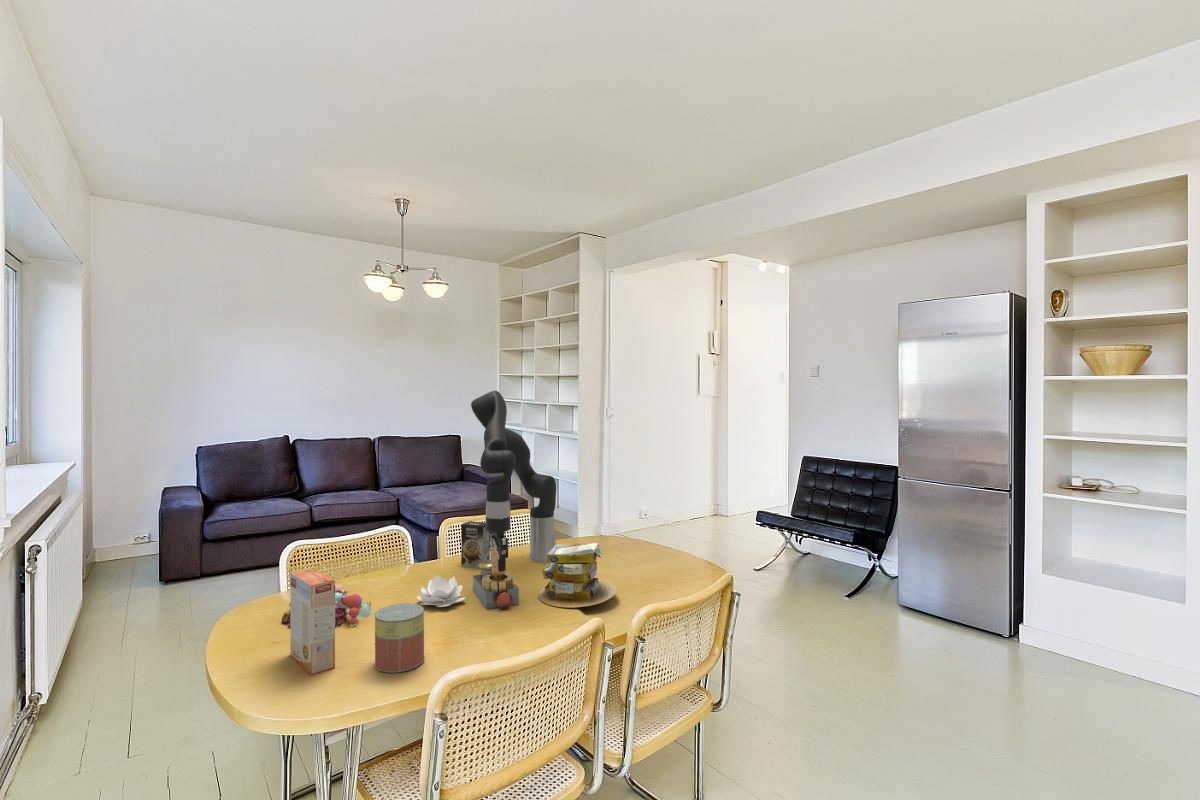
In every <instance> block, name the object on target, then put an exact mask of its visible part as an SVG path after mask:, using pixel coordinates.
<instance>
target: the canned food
mask: <svg viewBox="0 0 1200 800" xmlns="http://www.w3.org/2000/svg"><path fill="white" fill-rule="evenodd" d="M424 624H425V608H424V607H423V606H422V604H417V603H409V602H408V603H397V604H391V605H388V606H384V607H382V608H380V609H377V611H376V612H374V646H375V647H374V667H375V669H376V670H377V671H379V672H383V673H389V674H390V673H402V672H408V671H410V670H413V669H415V668H417V667H419V666H421V665H422V664H423V662H425V625H424Z"/></svg>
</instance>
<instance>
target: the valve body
mask: <svg viewBox="0 0 1200 800" xmlns="http://www.w3.org/2000/svg"><path fill="white" fill-rule="evenodd" d="M479 567H480V570H479V571H480V574H476V575H472V592H473V594H474V595H475V596H476V597H477V599H478V601H479V602H480V603H481V604H482V605H483V607H484V608H485V610H489V609H496V608H499V609H500V610H501V609H502V610H507V609H509V608H510V607H511V606H514V605H515V606H517V605H519V602H520V601H519V598H520V597H519V596H520V595H519V593H520V592H519V587H518V585H516V583H515V575H514V574H512V573H509V572H505V579H503V580H492V563H491V559H490V560H488V561H483V562H480V563H479Z"/></svg>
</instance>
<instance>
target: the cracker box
mask: <svg viewBox="0 0 1200 800" xmlns="http://www.w3.org/2000/svg"><path fill="white" fill-rule="evenodd" d="M335 584H336V579H333V578H332V577H330V576H328V575H327V574H324V573H323V572H321V571H319V570H317V569H316V568H308V569H303V570H298V571H293V572H290V602H291V607H290V609H291V629H290V656H291V658H293V659H294V660H295V662H296V663H298V665H300V667H301V668H302V669H303V670H305V672H306V673H307V674H308V675H310V676H312V675H316V674H319V673H322V672H326V671H329V670H332V669H335V668H336V667H335V666H336V627H335Z"/></svg>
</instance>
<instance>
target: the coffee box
mask: <svg viewBox="0 0 1200 800" xmlns="http://www.w3.org/2000/svg"><path fill="white" fill-rule="evenodd" d="M460 526H461V539H460V540H461V544H460V546H461V549H460V551H461V553H460V554H461V555H460V558H461V560H460V562H461V563H460V564H461V567H463V568H470V569H471V568H472V569H478V570H479V569H480V567H479V563H480V562H483V561H488V560H491V551H490V548H489V532H488V531H487V530H486V521H484V522H483V521H472V520H471V521H466V522H464V523H461V525H460Z"/></svg>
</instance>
